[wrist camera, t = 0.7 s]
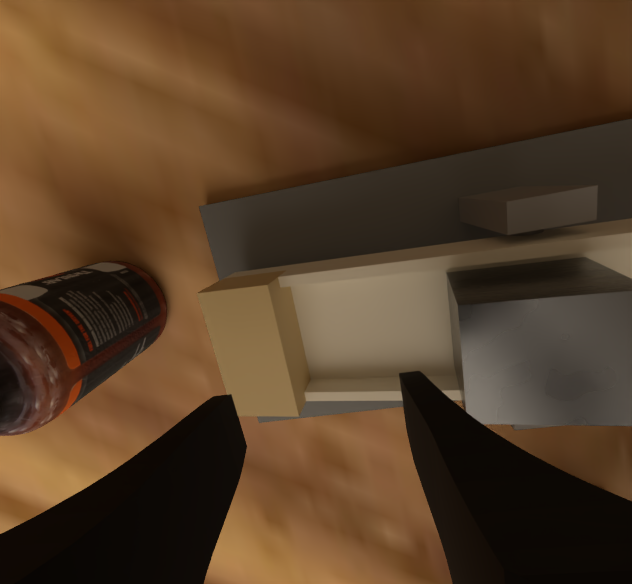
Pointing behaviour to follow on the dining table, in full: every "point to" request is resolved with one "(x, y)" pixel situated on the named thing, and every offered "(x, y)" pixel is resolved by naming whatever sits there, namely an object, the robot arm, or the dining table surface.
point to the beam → (366, 317)
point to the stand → (428, 210)
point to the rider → (543, 343)
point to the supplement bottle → (71, 338)
